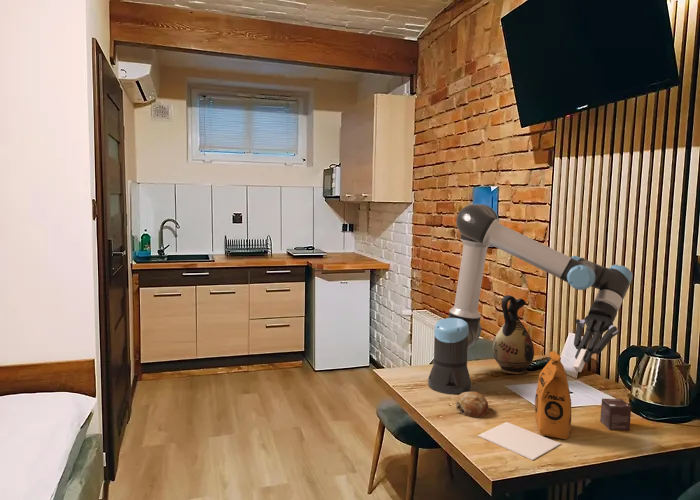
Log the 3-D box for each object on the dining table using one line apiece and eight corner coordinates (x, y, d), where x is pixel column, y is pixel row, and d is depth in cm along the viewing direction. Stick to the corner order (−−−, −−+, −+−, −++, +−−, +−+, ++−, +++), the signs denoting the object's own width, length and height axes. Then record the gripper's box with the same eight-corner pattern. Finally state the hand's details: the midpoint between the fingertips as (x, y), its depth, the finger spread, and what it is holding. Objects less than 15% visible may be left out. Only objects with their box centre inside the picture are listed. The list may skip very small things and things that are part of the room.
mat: (477, 436, 144) (477, 435, 144) (506, 422, 153) (506, 421, 153) (532, 460, 131) (532, 459, 131) (560, 444, 140) (560, 443, 140)
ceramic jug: (507, 361, 211) (511, 290, 208) (541, 372, 198) (545, 296, 195) (480, 369, 201) (483, 294, 198) (513, 381, 188) (517, 301, 185)
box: (619, 421, 155) (621, 398, 154) (630, 430, 149) (632, 406, 148) (599, 421, 155) (601, 398, 154) (609, 430, 149) (610, 406, 148)
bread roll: (452, 418, 164) (446, 399, 161) (472, 398, 169) (466, 379, 166) (477, 430, 156) (471, 410, 153) (497, 408, 161) (491, 389, 158)
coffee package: (532, 435, 144) (538, 359, 142) (533, 418, 156) (538, 348, 154) (571, 442, 141) (577, 364, 139) (569, 424, 152) (574, 352, 150)
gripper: (629, 318, 160) (602, 382, 151) (588, 311, 170) (560, 370, 161) (623, 303, 156) (595, 368, 147) (581, 297, 166) (552, 357, 157)
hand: (577, 369), depth 154 cm, fingers closed
